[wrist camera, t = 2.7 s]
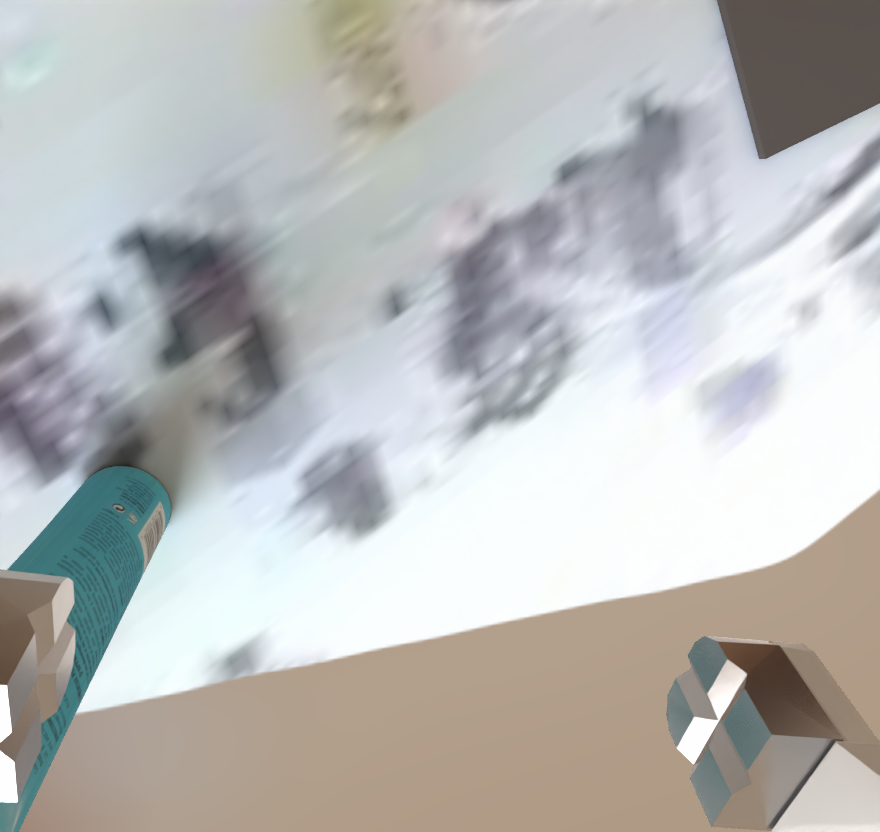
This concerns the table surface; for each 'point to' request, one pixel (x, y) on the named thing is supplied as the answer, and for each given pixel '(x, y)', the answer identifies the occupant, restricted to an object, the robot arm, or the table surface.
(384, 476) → the table surface
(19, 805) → the tube
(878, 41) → the mat
